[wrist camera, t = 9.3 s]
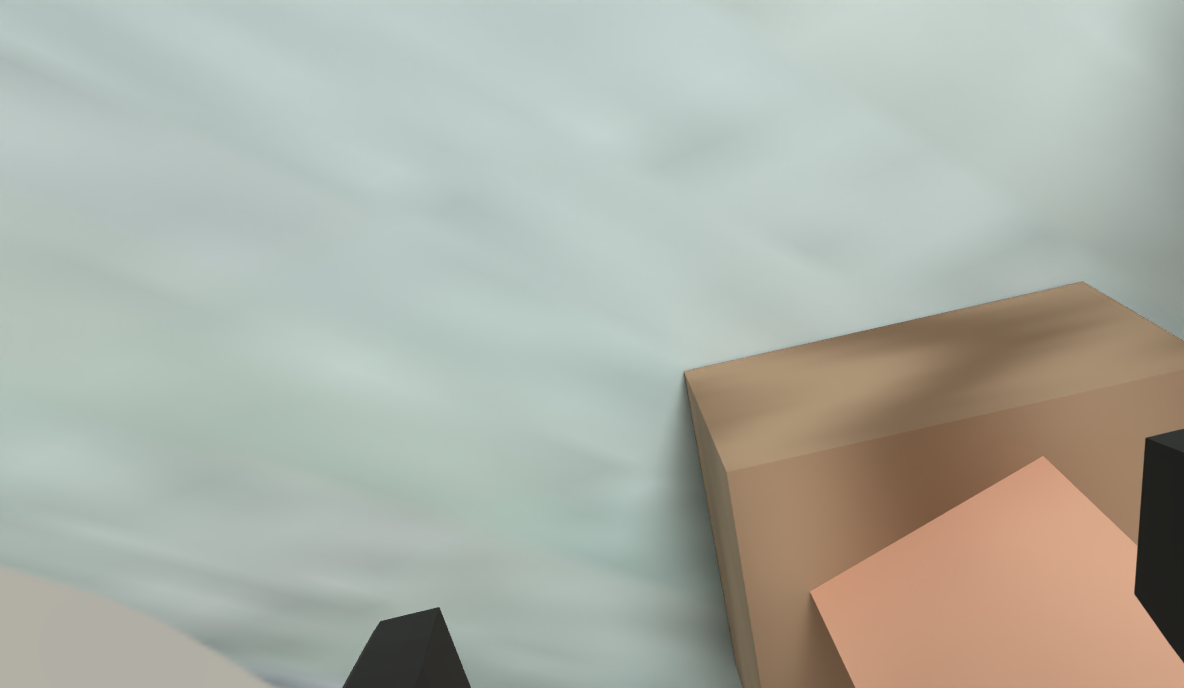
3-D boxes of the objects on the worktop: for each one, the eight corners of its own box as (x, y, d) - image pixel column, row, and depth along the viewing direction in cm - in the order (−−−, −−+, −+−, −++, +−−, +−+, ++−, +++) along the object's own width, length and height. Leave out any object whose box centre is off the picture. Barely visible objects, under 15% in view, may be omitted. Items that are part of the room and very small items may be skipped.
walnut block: (1083, 281, 19) (1218, 361, 15) (1067, 591, 23) (1172, 712, 19) (683, 371, 19) (726, 472, 15) (736, 665, 23) (779, 800, 19)
